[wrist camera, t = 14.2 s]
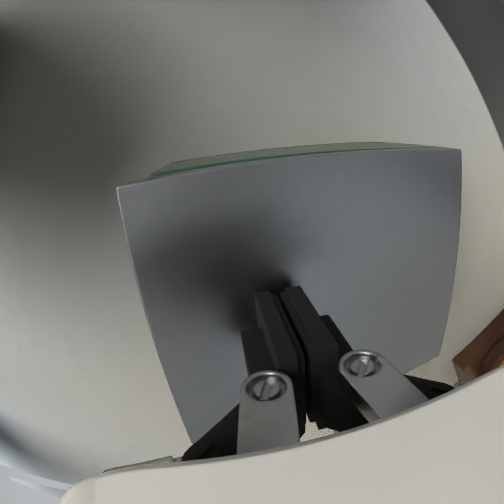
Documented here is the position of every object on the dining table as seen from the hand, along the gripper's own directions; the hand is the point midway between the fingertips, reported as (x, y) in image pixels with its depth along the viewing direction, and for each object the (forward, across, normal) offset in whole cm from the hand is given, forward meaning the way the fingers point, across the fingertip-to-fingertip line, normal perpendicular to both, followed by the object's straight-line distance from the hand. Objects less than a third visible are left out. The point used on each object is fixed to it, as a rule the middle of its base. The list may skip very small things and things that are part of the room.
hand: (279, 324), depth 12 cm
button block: (+10, -27, +17) cm, 34 cm away
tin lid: (+1, -2, 0) cm, 3 cm away
